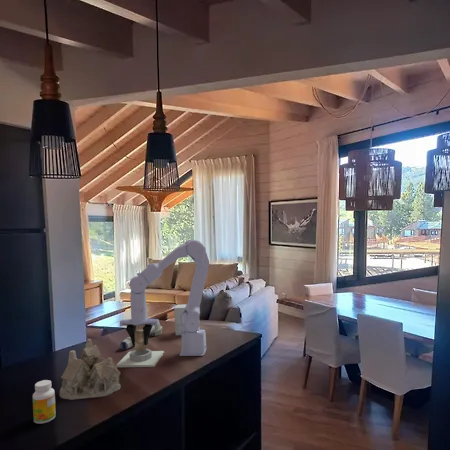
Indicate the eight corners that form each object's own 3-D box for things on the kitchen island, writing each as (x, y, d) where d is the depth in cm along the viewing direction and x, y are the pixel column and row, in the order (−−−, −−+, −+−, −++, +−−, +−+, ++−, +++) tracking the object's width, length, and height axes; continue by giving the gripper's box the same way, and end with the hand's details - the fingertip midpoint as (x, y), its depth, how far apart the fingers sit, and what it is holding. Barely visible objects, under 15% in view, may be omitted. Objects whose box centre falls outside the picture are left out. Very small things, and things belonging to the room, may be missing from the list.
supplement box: (193, 330, 177) (192, 303, 177) (191, 335, 169) (189, 307, 169) (178, 330, 178) (177, 304, 177) (175, 335, 170) (173, 307, 170)
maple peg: (147, 347, 143) (146, 329, 143) (144, 351, 139) (143, 332, 139) (137, 347, 144) (136, 329, 144) (133, 351, 140) (132, 332, 140)
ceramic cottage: (53, 392, 117) (54, 344, 117) (101, 376, 129) (102, 333, 129) (76, 411, 106) (77, 358, 106) (127, 392, 118) (128, 345, 118)
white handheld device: (117, 340, 155) (154, 317, 177) (120, 355, 155) (156, 330, 178) (127, 342, 152) (163, 318, 174) (129, 357, 153) (165, 331, 175)
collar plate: (163, 352, 148) (163, 345, 148) (154, 366, 134) (153, 359, 134) (129, 353, 149) (129, 346, 149) (116, 367, 135) (115, 359, 135)
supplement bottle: (29, 422, 99) (27, 386, 99) (45, 412, 104) (43, 377, 104) (44, 425, 98) (42, 388, 97) (60, 415, 103) (58, 379, 102)
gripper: (115, 311, 138) (117, 348, 138) (154, 310, 137) (156, 347, 137) (122, 307, 145) (124, 341, 145) (159, 306, 144) (161, 341, 144)
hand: (140, 344), depth 142 cm, fingers closed on maple peg, 4 cm apart
